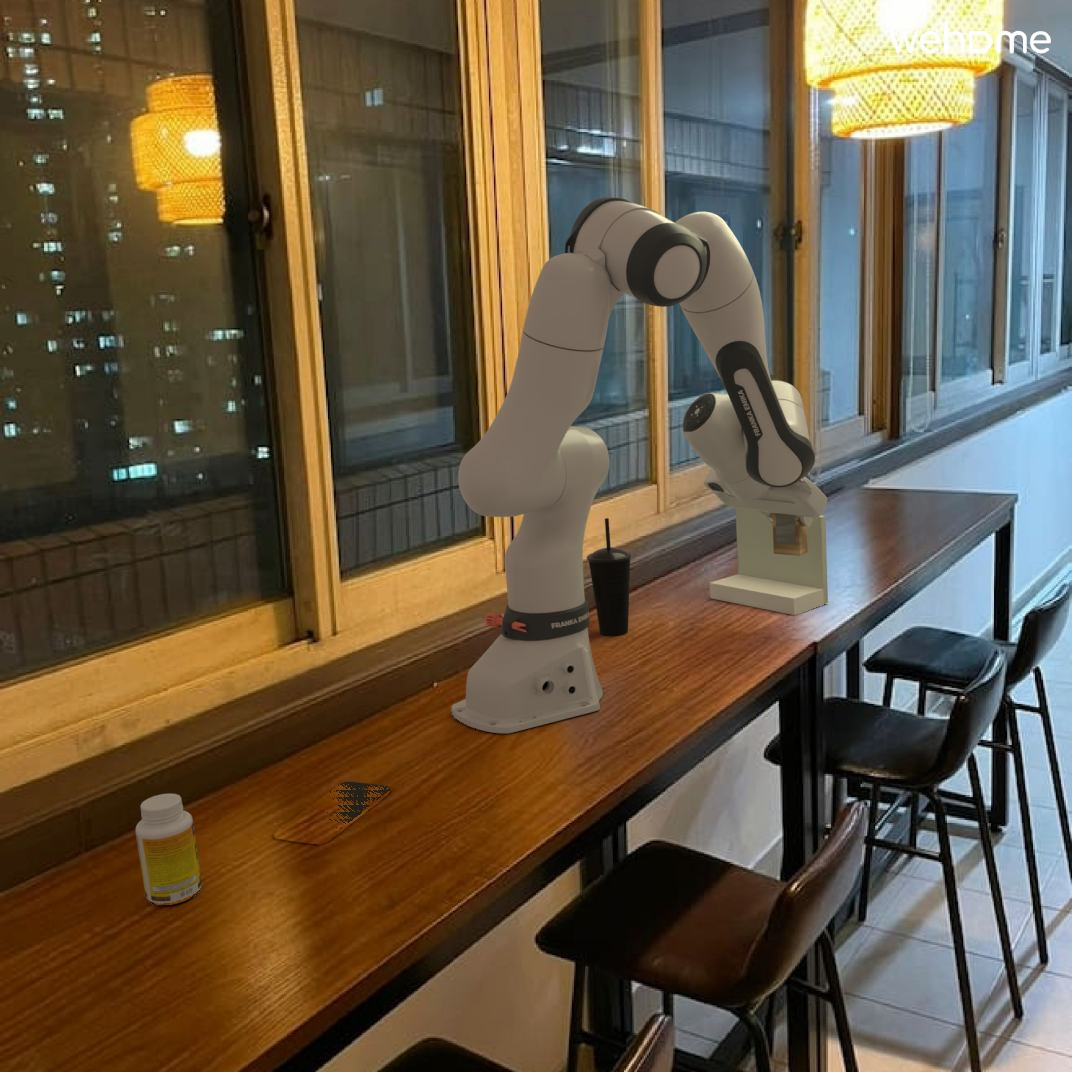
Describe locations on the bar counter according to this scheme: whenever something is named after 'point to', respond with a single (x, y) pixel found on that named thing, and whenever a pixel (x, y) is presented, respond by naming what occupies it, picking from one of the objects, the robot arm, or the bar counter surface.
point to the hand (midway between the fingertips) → (791, 521)
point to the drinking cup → (611, 586)
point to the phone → (357, 798)
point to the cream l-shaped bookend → (775, 569)
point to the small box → (789, 535)
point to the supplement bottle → (167, 850)
